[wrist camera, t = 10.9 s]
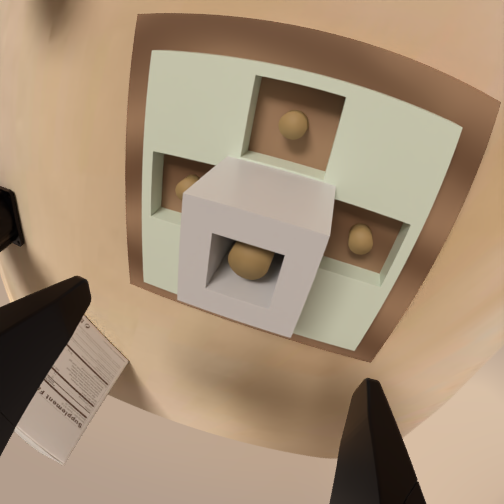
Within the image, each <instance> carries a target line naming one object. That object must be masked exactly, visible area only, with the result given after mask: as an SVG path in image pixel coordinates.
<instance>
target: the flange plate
mask: <svg viewBox="0 0 504 504" xmlns="http://www.w3.org/2000/svg"><path fill="white" fill-rule="evenodd" d="M262 76H263V77H268V78H273V79H278V80H283V81H287V82H291V83H296V84H300V85H304V86H308V87H312V88H316V89H320V90H323V91H327V92H330V93H334V94H337V95H341V96H344V97H345V101H344V105H343V109H342V113H341V116H340V120H339V124H338V128H337V131H336V135H335V139H334V142H333V146H332V149H331V153H330V156H329V160H328V163H327V167H326V170H325V171H322V170H318V169H315V168H312V167H308V166H305V165H301V164H298V163H294V162H291V161H287V160H283V159H280V158H276V157H272V156H269V155H265V154H261V153H257V152H253V151H249V150H248V147H249V142H250V136H251V131H252V126H253V120H254V115H255V110H256V105H257V100H258V94H259V89H260V84H261V79H262ZM462 128H463V127H461V126H459V125H458V124H456V123H454V122H452V121H450V120H448V119H445V118H443V117H441V116H439V115H436V114H434V113H432V112H430V111H427V110H425V109H422V108H420V107H418V106H415V105H413V104H410V103H407V102H405V101H402V100H400V99H397V98H394V97H391V96H389V95H386V94H383V93H380V92H377V91H374V90H371V89H368V88H365V87H362V86H359V85H356V84H353V83H349V82H346V81H342V80H339V79H335V78H332V77H328V76H325V75H321V74H317V73H313V72H309V71H305V70H300V69H296V68H292V67H287V66H282V65H277V64H272V63H267V62H262V61H256V60H250V59H244V58H238V57H231V56H223V55H216V54H207V53H197V52H186V51H173V50H152V53H151V61H150V69H149V78H148V88H147V99H146V111H145V125H144V142H143V165H142V254H143V278H144V282H145V283H148V284H151V285H153V286H156V287H159V288H161V289H164V290H167V291H169V292H172V293H175V294H177V300H179V301H182V302H185V303H187V304H190V305H193V306H196V307H198V308H201V309H204V310H207V311H210V312H212V313H215V314H218V315H221V316H224V317H227V318H230V319H233V320H236V321H239V322H242V323H245V324H248V325H251V326H254V327H257V328H260V329H263V330H266V331H270V332H273V333H276V334H279V335H282V336H286V337H289V338H291V336H292V334H293V333H294V334H297V335H300V336H304V337H307V338H310V339H314V340H317V341H321V342H324V343H328V344H331V345H335V346H338V347H342V348H345V349H349V350H353V351H355V349H356V348H357V346H358V345H359V343H360V342H361V340H362V338H363V337H364V335H365V333H366V332H367V330H368V329H369V327H370V325H371V324H372V322H373V320H374V319H375V317H376V315H377V314H378V312H379V310H380V308H381V307H382V305H383V303H384V301H385V300H386V298H387V296H388V294H389V292H390V291H391V289H392V287H393V285H394V283H395V282H396V280H397V278H398V276H399V274H400V272H401V270H402V268H403V266H404V265H405V263H406V261H407V259H408V257H409V255H410V253H411V251H412V249H413V247H414V245H415V243H416V241H417V238H418V236H419V234H420V232H421V230H422V228H423V226H424V224H425V221H426V219H427V217H428V215H429V213H430V210H431V208H432V206H433V204H434V201H435V199H436V197H437V194H438V192H439V189H440V187H441V185H442V182H443V180H444V177H445V175H446V172H447V170H448V167H449V164H450V162H451V159H452V156H453V154H454V151H455V148H456V146H457V143H458V140H459V137H460V134H461V131H462ZM164 154H169V155H173V156H178V157H182V158H187V159H191V160H195V161H199V162H204V163H208V164H212V165H216V166H215V167H213V168H212V169H211V170H210V171H208V172H207V173H206V174H205V175H204V176H202V177H201V178H200V179H199V180H198V181H197V182H195V183H194V184H193V185H192V186H191V187H190V188H188V189H187V190H186V191H185V192H184V193H183V199H182V213H180V212H176V211H173V210H170V209H166V208H163V207H161V200H162V179H163V163H164ZM334 199H337V200H340V201H343V202H346V203H349V204H352V205H355V206H358V207H361V208H364V209H367V210H370V211H373V212H376V213H379V214H382V215H385V216H388V217H391V218H393V219H396V220H399V221H402V222H403V225H402V227H401V229H400V231H399V233H398V236H397V238H396V240H395V242H394V244H393V247H392V249H391V251H390V253H389V255H388V257H387V259H386V261H385V263H384V265H383V267H382V269H381V272H380V274H379V273H376V272H373V271H370V270H367V269H363V268H360V267H357V266H354V265H351V264H348V263H345V262H341V261H338V260H335V259H332V258H329V257H325V256H323V254H324V251H325V249H326V246H327V243H328V240H329V237H330V232H331V224H332V216H333V208H334ZM236 241H240V242H243V243H247V244H250V245H253V246H256V247H260V248H263V249H266V250H269V251H273V252H275V254H274V257H273V259H272V262H271V264H270V267H269V269H268V271H267V273H266V274H265V275H264V276H263V277H262V278H259V279H255V280H249V279H245V278H242V277H240V276H238V275H237V274H236V273H235V272H234V271H233V270H232V269H231V267H230V265H229V262H228V255H229V252H230V251H231V249H232V247H233V246H234V244H235V243H236Z"/></svg>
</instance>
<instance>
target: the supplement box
mask: <svg viewBox="0 0 504 504" xmlns="http://www.w3.org/2000/svg"><path fill="white" fill-rule="evenodd" d="M128 362H129V361H128V360H127V359H126V358H125V357H124V356H123V355H122V354H121V353H120V352H119V351H118V350H117V349H116V348H115V347H114V346H113V345H112V344H111V343H110V342H109V341H108V340H107V339H106V338H105V337H104V336H103V335H102V333H101V332H100V331H99V330H98V329H97V328H96V327H95V326H94V325H93V324H92V323H91V322H90V321H89V320H88V319H87V318H86V316H85V315H84V316H83V317H82V319H81V321H80V323H79V325H78V326H77V328H76V330H75V332H74V334H73V336H72V337H71V339H70V341H69V342H68V344H67V345H66V347H65V348H64V350H63V351H62V353H61V354H60V356H59V357H58V359H57V360H56V362H55V363H54V365H53V366H52V368H51V370H50V371H49V373H48V374H47V376H46V377H45V379H44V381H43V382H42V384H41V385H40V387H39V389H38V390H37V392H36V394H35V395H34V397H33V398H32V400H31V402H30V403H29V405H28V407H27V409H26V410H25V412H24V414H23V415H22V417H21V419H20V421H19V422H18V424H17V426H16V427H15V430H14V432H15V433H17V434H18V435H19V436H20V437H21V438H22V439H23V440H24V441H26V442H27V443H28V444H29V445H30V446H31V447H33V448H34V449H35V450H37V451H38V452H40V453H42V454H43V455H45V456H47V457H49V458H51V459H53V460H55V461H57V462H59V463H61V464H63V465H64V464H65V463H66V461H67V459H68V458H69V456H70V454H71V453H72V451H73V449H74V448H75V446H76V444H77V442H78V441H79V439H80V437H81V436H82V434H83V433H84V431H85V430H86V428H87V426H88V425H89V423H90V421H91V420H92V418H93V417H94V415H95V414H96V412H97V411H98V409H99V407H100V406H101V404H102V402H103V401H104V399H105V398H106V396H107V395H108V393H109V392H110V390H111V388H112V387H113V385H114V384H115V382H116V381H117V379H118V378H119V376H120V374H121V373H122V371H123V370H124V368H125V367H126V365H127V364H128Z"/></svg>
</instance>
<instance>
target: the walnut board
mask: <svg viewBox="0 0 504 504" xmlns="http://www.w3.org/2000/svg"><path fill="white" fill-rule="evenodd" d="M152 50H173V51H186V52H197V53H207V54H216V55H223V56H231V57H238V58H244V59H250V60H256V61H262V62H267V63H272V64H277V65H282V66H287V67H292V68H296V69H300V70H305V71H309V72H313V73H317V74H321V75H325V76H328V77H332V78H335V79H339V80H342V81H346V82H349V83H353V84H356V85H359V86H362V87H365V88H368V89H371V90H374V91H377V92H380V93H383V94H386V95H389V96H391V97H394V98H397V99H400V100H402V101H405V102H407V103H410V104H413V105H415V106H418V107H420V108H422V109H425V110H427V111H430V112H432V113H434V114H436V115H439V116H441V117H443V118H445V119H448V120H450V121H452V122H454V123H456V124H458V125H459V126H461V127H463V128H462V131H461V134H460V137H459V140H458V143H457V146H456V148H455V151H454V154H453V156H452V159H451V162H450V164H449V167H448V170H447V172H446V175H445V177H444V180H443V182H442V185H441V187H440V189H439V192H438V194H437V197H436V199H435V201H434V204H433V206H432V208H431V210H430V213H429V215H428V217H427V219H426V221H425V224H424V226H423V228H422V230H421V232H420V234H419V236H418V238H417V241H416V243H415V245H414V247H413V249H412V251H411V253H410V255H409V257H408V259H407V261H406V263H405V265H404V266H403V268H402V270H401V272H400V274H399V276H398V278H397V280H396V282H395V283H394V285H393V287H392V289H391V291H390V292H389V294H388V296H387V298H386V300H385V301H384V303H383V305H382V307H381V308H380V310H379V312H378V314H377V315H376V317H375V319H374V320H373V322H372V324H371V325H370V327H369V329H368V330H367V332H366V333H365V335H364V337H363V338H362V340H361V342H360V343H359V345H358V346H357V348H356V349H355V351H353V350H349V349H345V348H342V347H338V346H335V345H331V344H328V343H324V342H321V341H317V340H314V339H310V338H307V337H304V336H300V335H297V334H294V333H293V334H292V336H291V338H289V337H286V336H282V335H279V334H276V333H273V332H270V331H266V330H263V329H260V328H257V327H254V326H251V325H248V324H245V323H242V322H239V321H236V320H233V319H230V318H227V317H224V316H221V315H218V314H215V313H212V312H210V311H207V310H204V309H201V308H198V307H196V306H193V305H190V304H187V303H185V302H182V301H179V300H177V294H175V293H172V292H169V291H167V290H164V289H161V288H159V287H156V286H153V285H151V284H148V283H145V282H144V278H143V254H142V165H143V142H144V125H145V111H146V99H147V88H148V78H149V69H150V61H151V53H152ZM344 101H345V97H344V96H341V95H337V94H334V93H330V92H327V91H323V90H320V89H316V88H312V87H308V86H304V85H300V84H296V83H291V82H287V81H283V80H278V79H273V78H268V77H263V76H262V79H261V84H260V89H259V94H258V100H257V105H256V110H255V115H254V120H253V126H252V131H251V136H250V142H249V147H248V150H249V151H253V152H257V153H261V154H265V155H269V156H272V157H276V158H280V159H283V160H287V161H291V162H294V163H298V164H301V165H305V166H308V167H312V168H315V169H318V170H322V171H325V170H326V167H327V163H328V160H329V156H330V153H331V149H332V146H333V142H334V139H335V135H336V131H337V128H338V124H339V120H340V116H341V113H342V109H343V105H344ZM500 104H501V102H499V101H498V100H496V99H494V98H493V97H491V96H489V95H487V94H485V93H484V92H482V91H480V90H478V89H476V88H474V87H472V86H470V85H468V84H466V83H464V82H462V81H460V80H458V79H456V78H454V77H452V76H450V75H448V74H446V73H443V72H441V71H439V70H437V69H434V68H432V67H430V66H427V65H425V64H423V63H420V62H418V61H415V60H413V59H410V58H407V57H405V56H402V55H399V54H397V53H394V52H391V51H388V50H385V49H382V48H379V47H376V46H373V45H370V44H367V43H364V42H360V41H357V40H354V39H350V38H346V37H343V36H339V35H335V34H331V33H327V32H323V31H319V30H314V29H310V28H305V27H300V26H295V25H290V24H284V23H278V22H272V21H266V20H259V19H251V18H243V17H233V16H222V15H207V14H182V13H155V14H138V16H137V22H136V29H135V36H134V44H133V52H132V61H131V71H130V81H129V94H128V108H127V127H126V166H125V186H126V225H127V245H128V260H129V273H130V284H132V285H135V286H137V287H140V288H143V289H145V290H148V291H150V292H153V293H155V294H158V295H161V296H163V297H166V298H169V299H171V300H174V301H177V302H179V303H182V304H185V305H187V306H190V307H193V308H196V309H199V310H201V311H204V312H207V313H210V314H213V315H216V316H218V317H221V318H224V319H227V320H230V321H233V322H236V323H239V324H242V325H245V326H248V327H251V328H254V329H257V330H260V331H264V332H267V333H270V334H273V335H276V336H279V337H283V338H286V339H289V340H292V341H296V342H299V343H302V344H306V345H309V346H313V347H316V348H320V349H323V350H327V351H330V352H334V353H337V354H341V355H345V356H348V357H352V358H356V359H360V360H363V361H367V362H371V361H372V360H373V359H374V357H375V356H376V354H377V353H378V352H379V350H380V349H381V347H382V346H383V344H384V343H385V341H386V340H387V339H388V337H389V336H390V334H391V333H392V331H393V330H394V328H395V327H396V325H397V324H398V322H399V320H400V319H401V317H402V316H403V314H404V313H405V311H406V309H407V308H408V306H409V305H410V303H411V301H412V300H413V298H414V297H415V295H416V293H417V291H418V290H419V288H420V286H421V285H422V283H423V281H424V280H425V278H426V276H427V274H428V273H429V271H430V269H431V267H432V265H433V264H434V262H435V260H436V258H437V256H438V254H439V252H440V250H441V249H442V247H443V245H444V243H445V241H446V239H447V237H448V235H449V233H450V231H451V229H452V227H453V225H454V223H455V221H456V219H457V216H458V214H459V212H460V210H461V208H462V206H463V203H464V201H465V199H466V197H467V194H468V192H469V190H470V187H471V185H472V183H473V180H474V178H475V175H476V173H477V170H478V168H479V165H480V163H481V160H482V158H483V155H484V152H485V150H486V147H487V144H488V141H489V138H490V135H491V133H492V130H493V127H494V123H495V120H496V117H497V114H498V111H499V107H500ZM215 166H216V165H212V164H208V163H204V162H199V161H195V160H191V159H187V158H182V157H178V156H173V155H169V154H164V163H163V179H162V200H161V207H163V208H166V209H170V210H173V211H176V212H180V213H182V199H183V193H184V192H185V191H186V190H187V189H188V188H190V187H191V186H192V185H193V184H194V183H195V182H197V181H198V180H199V179H200V178H201V177H202V176H204V175H205V174H206V173H207V172H208V171H210V170H211V169H212V168H213V167H215ZM402 225H403V222H402V221H399V220H396V219H393V218H391V217H388V216H385V215H382V214H379V213H376V212H373V211H370V210H367V209H364V208H361V207H358V206H355V205H352V204H349V203H346V202H343V201H340V200H337V199H334V208H333V216H332V224H331V232H330V237H329V240H328V243H327V246H326V249H325V251H324V254H323V256H325V257H329V258H332V259H335V260H338V261H341V262H345V263H348V264H351V265H354V266H357V267H360V268H363V269H367V270H370V271H373V272H376V273H379V274H380V272H381V269H382V267H383V265H384V263H385V261H386V259H387V257H388V255H389V253H390V251H391V249H392V247H393V244H394V242H395V240H396V238H397V236H398V233H399V231H400V229H401V227H402ZM274 254H275V252H273V251H269V250H266V249H263V248H260V247H256V246H253V245H250V244H247V243H243V242H240V241H236V243H235V244H234V246H233V247H232V249H231V251H230V252H229V255H228V262H229V265H230V267H231V269H232V270H233V271H234V272H235V273H236V274H237V275H238V276H240V277H242V278H245V279H249V280H255V279H259V278H262V277H263V276H264V275H265V274H266V273H267V271H268V269H269V267H270V264H271V262H272V259H273V257H274Z"/></svg>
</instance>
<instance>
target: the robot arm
mask: <svg viewBox="0 0 504 504" xmlns="http://www.w3.org/2000/svg"><path fill="white" fill-rule="evenodd" d="M11 243H14V244H16V245H18V246H20V247H21V246H22V245H23V244H24V241H23V237H22V233H21V229H20V224H19V220H18V215H17V210H16V205H15V200H14V195H13V192H12V191H11V190H10V189H7V188H4V187H1V186H0V252H1V251H2V250H4V249H5V248H6V247H7V246H9V245H10V244H11ZM90 302H91V294H90V289H89V284H88V281H87V280H86V279H84V278H82V277H80V276H74V277H72V278H69V279H67V280H64V281H62V282H59V283H57V284H54V285H52V286H49V287H47V288H45V289H42V290H40V291H37V292H35V293H33V294H30V295H28V296H25V297H23V298H21V299H18V300H16V301H14V302H11V303H9V304H7V305H4V306H2V307H0V456H1V454H2V452H3V450H4V448H5V446H6V444H7V443H8V441H9V439H10V437H11V435H12V433H13V432H14V430H15V427H16V426H17V424H18V422H19V421H20V419H21V417H22V415H23V414H24V412H25V410H26V409H27V407H28V405H29V403H30V402H31V400H32V398H33V397H34V395H35V394H36V392H37V390H38V389H39V387H40V385H41V384H42V382H43V381H44V379H45V377H46V376H47V374H48V373H49V371H50V370H51V368H52V366H53V365H54V363H55V362H56V360H57V359H58V357H59V356H60V354H61V353H62V351H63V350H64V348H65V347H66V345H67V344H68V342H69V341H70V339H71V337H72V336H73V334H74V332H75V330H76V328H77V326H78V325H79V323H80V321H81V319H82V317H83V316H84V314H85V312H86V310H87V308H88V307H89V305H90ZM330 504H426V502H425V499H424V496H423V493H422V491H421V488H420V485H419V482H417V477H416V474H415V471H414V469H413V466H412V463H411V460H410V457H409V455H408V452H407V449H406V447H405V444H404V442H403V439H402V436H401V434H400V431H399V429H398V426H397V423H396V421H395V418H394V416H393V413H392V411H391V408H390V406H389V404H388V401H387V399H386V396H385V394H384V391H383V389H382V387H381V384H380V382H379V381H377V380H374V379H370V378H366V379H364V380H363V382H362V383H361V384H360V385H359V387H358V388H357V389H356V390H355V392H354V394H353V396H352V399H351V403H350V407H349V411H348V415H347V419H346V423H345V427H344V431H343V435H342V439H341V443H340V448H339V454H338V461H337V467H336V472H335V478H334V483H333V489H332V494H331V499H330Z"/></svg>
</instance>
